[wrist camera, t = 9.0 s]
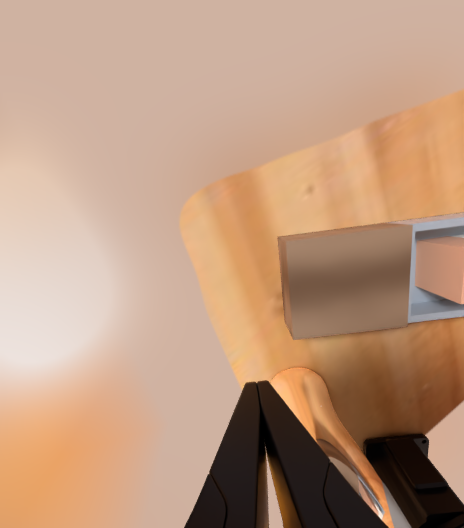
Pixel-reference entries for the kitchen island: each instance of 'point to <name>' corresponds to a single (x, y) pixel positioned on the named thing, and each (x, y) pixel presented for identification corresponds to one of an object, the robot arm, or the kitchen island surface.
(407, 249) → the dark walnut board
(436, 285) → the terracotta tile
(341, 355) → the kitchen island surface
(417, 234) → the slate tray
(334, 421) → the beer glass
